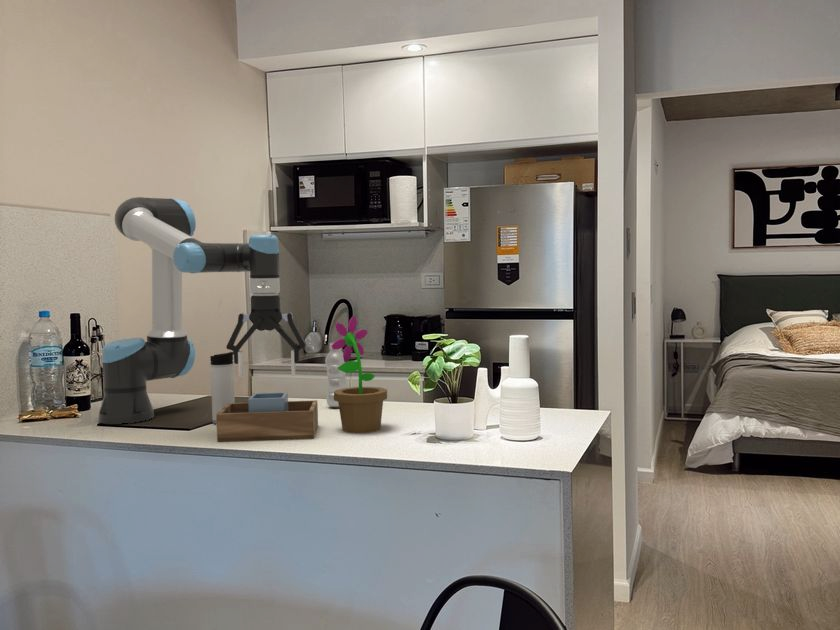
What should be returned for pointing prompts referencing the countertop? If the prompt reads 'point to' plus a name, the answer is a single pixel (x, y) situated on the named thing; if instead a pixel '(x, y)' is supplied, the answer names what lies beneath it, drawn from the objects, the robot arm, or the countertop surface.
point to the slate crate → (268, 402)
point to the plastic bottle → (334, 374)
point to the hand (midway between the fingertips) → (267, 375)
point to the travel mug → (221, 382)
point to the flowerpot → (357, 402)
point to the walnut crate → (267, 422)
